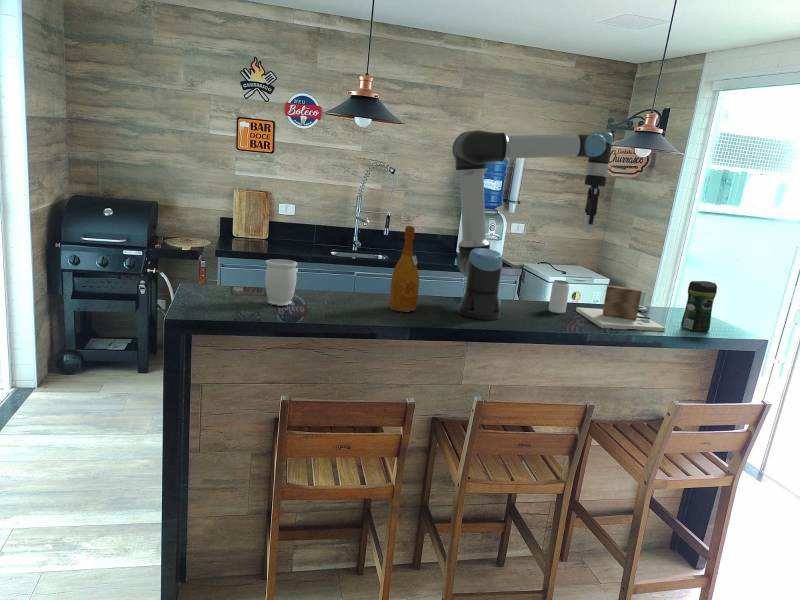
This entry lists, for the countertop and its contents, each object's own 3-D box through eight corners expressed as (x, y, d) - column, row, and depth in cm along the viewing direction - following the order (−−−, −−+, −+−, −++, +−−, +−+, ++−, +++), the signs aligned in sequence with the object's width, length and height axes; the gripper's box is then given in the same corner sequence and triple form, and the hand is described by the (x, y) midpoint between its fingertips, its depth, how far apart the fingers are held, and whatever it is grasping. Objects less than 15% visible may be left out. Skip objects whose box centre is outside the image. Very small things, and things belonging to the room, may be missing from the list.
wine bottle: (397, 314, 206) (404, 227, 199) (384, 307, 214) (391, 224, 207) (421, 312, 211) (429, 228, 204) (407, 306, 219) (415, 224, 212)
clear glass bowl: (635, 315, 241) (638, 297, 239) (617, 307, 252) (620, 290, 250) (660, 315, 244) (663, 297, 242) (641, 308, 255) (644, 291, 254)
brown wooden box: (602, 314, 225) (607, 286, 222) (602, 313, 228) (607, 285, 225) (649, 321, 221) (655, 292, 218) (648, 319, 224) (654, 291, 221)
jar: (263, 307, 199) (265, 263, 195) (264, 300, 209) (265, 258, 205) (295, 308, 201) (298, 265, 198) (294, 301, 211) (296, 259, 207)
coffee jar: (695, 326, 228) (705, 279, 223) (712, 332, 220) (723, 283, 216) (676, 326, 224) (685, 278, 220) (692, 332, 217) (702, 283, 213)
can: (563, 310, 234) (568, 280, 232) (566, 314, 228) (571, 284, 225) (547, 308, 235) (551, 279, 232) (549, 312, 229) (554, 282, 226)
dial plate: (601, 327, 212) (602, 323, 212) (576, 311, 235) (576, 306, 235) (664, 331, 215) (665, 327, 214) (633, 314, 238) (634, 310, 238)
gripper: (610, 176, 210) (600, 235, 215) (603, 175, 234) (594, 229, 238) (588, 174, 211) (579, 233, 216) (583, 174, 235) (575, 227, 240)
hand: (587, 231), depth 227 cm, fingers open, 13 cm apart
